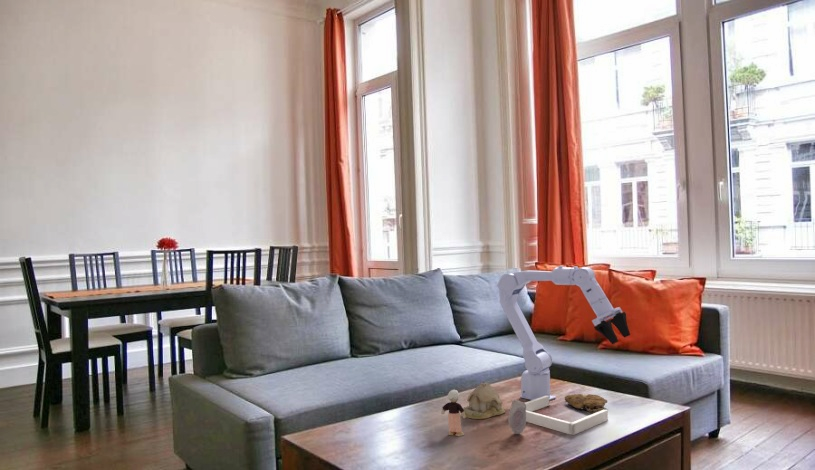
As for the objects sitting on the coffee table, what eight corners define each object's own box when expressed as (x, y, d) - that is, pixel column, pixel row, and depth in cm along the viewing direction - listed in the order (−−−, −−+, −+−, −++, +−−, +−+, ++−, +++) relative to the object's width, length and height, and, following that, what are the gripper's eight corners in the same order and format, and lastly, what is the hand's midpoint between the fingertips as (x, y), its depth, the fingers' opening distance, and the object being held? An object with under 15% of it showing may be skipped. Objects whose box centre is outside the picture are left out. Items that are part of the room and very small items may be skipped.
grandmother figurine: (468, 432, 172) (467, 389, 172) (465, 437, 169) (464, 392, 169) (443, 430, 175) (442, 387, 175) (439, 435, 171) (438, 390, 171)
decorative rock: (618, 413, 188) (587, 402, 202) (618, 400, 188) (587, 390, 202) (589, 416, 184) (559, 405, 198) (589, 403, 184) (559, 392, 198)
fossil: (512, 438, 167) (511, 402, 167) (504, 434, 170) (503, 399, 170) (528, 434, 170) (527, 399, 169) (521, 431, 173) (520, 396, 172)
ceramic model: (481, 405, 199) (480, 375, 199) (510, 411, 192) (510, 380, 192) (456, 415, 188) (455, 384, 188) (486, 422, 181) (485, 389, 181)
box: (510, 417, 185) (510, 407, 185) (546, 404, 197) (546, 395, 197) (572, 435, 168) (572, 424, 168) (607, 420, 180) (607, 410, 180)
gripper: (595, 301, 184) (619, 341, 180) (619, 290, 194) (642, 328, 190) (579, 310, 189) (602, 349, 185) (603, 299, 199) (625, 336, 195)
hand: (621, 339), depth 188 cm, fingers open, 7 cm apart
